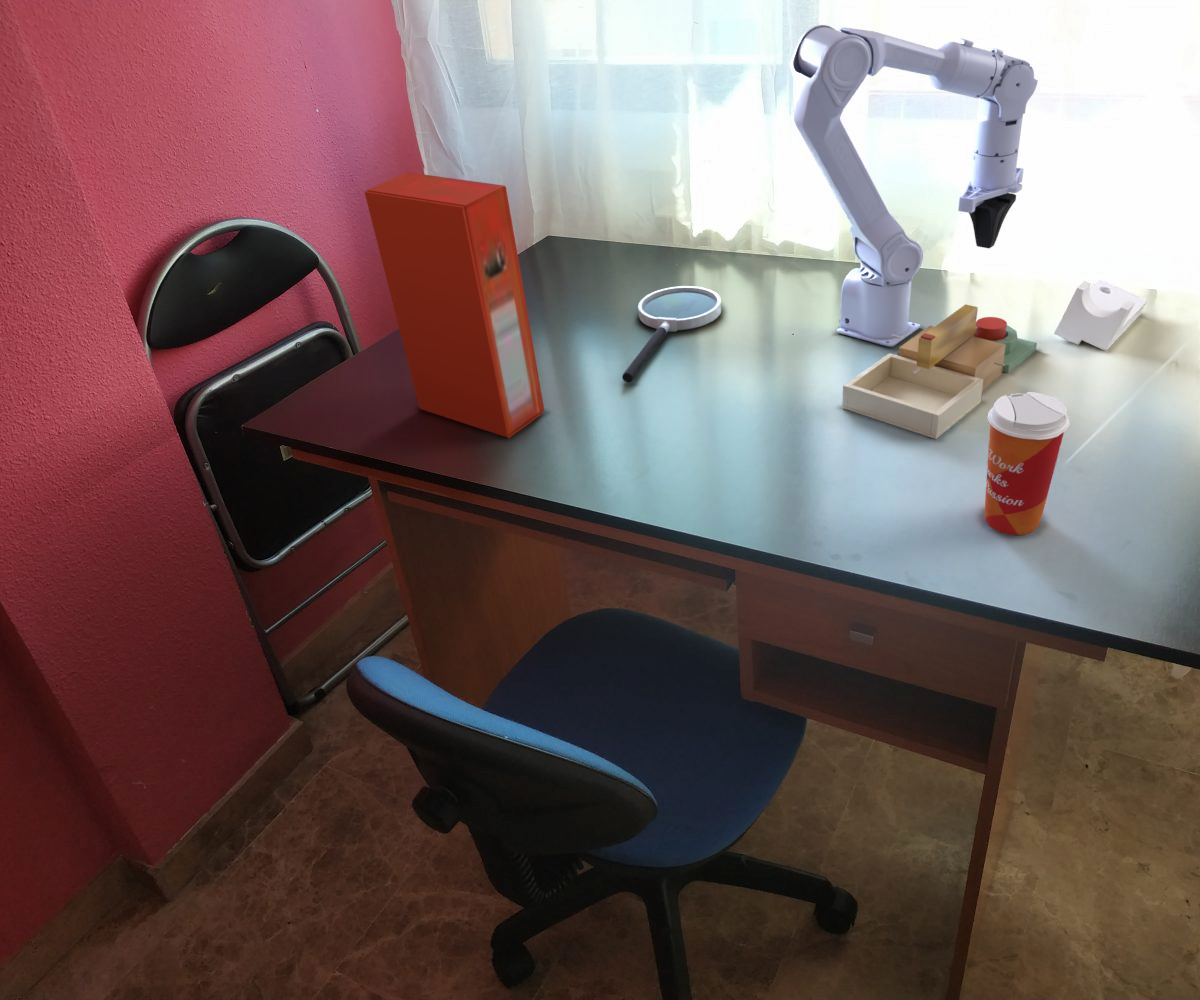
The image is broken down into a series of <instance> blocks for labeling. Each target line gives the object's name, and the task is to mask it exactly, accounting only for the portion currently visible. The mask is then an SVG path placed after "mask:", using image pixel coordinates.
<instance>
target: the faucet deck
mask: <svg viewBox="0 0 1200 1000" xmlns="http://www.w3.org/2000/svg"><path fill="white" fill-rule="evenodd" d="M934 327H935V326H933V325H929V326H927V327H926V328H925V329H923V330H921V331H920V332H918V333H917V334H916V335H915V336H913V337H911V338H910V339H908V340H907V341H906V342H905V343H904V344H902V345H900V346H899V347H898V356H902V357H905V358H909V359H912V360H916V361H917V355H918V343H919V338H920V337H921V335H923V334H924V333H927V332H928V331H929V330H931V329H932V328H934ZM977 328H978V327H977V326H976V327H975V330H976V329H977ZM891 336H892V337H896V338H902V337H901V336H897V335H894V334H892V335H891ZM1005 346H1006V345H1005V344H1001V343H997V342H993V341H989V340H985V339H981V338H977V337H973V336H972V337H970V338H969V339H968V340H966V341H965V342H964V343H963V344H961V345H960V346H959V347H957V348H956V349H955V350H953V351H952V352H951V353H950V354H948V355H947V356H946V357H944V358H943V359H942V360H940V361H939V362H938V363H936V364H935V365H934V366H937V367H941V368H944V369H948V370H951V371H955V372H959V373H962V374H966V375H969V376H973V377H976V378H980V379H983V386H982V391H983V390H984V389H986V388H987V387H989V386H990V385H991V384H993V382H995V381H996V380H997V379H998V378H999V377H1001V376H1002V374H1003V371H1002V368H1003V366H1005V364H1003V361H1004V354H1005ZM920 370H921V369H917V370H916V371H915V372H913V373H912V374H914V375H915V374H917V373H918V372H919V371H920Z"/></svg>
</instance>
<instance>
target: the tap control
mask: <svg viewBox="0 0 1200 1000" xmlns="http://www.w3.org/2000/svg"><path fill="white" fill-rule="evenodd" d="M1017 332H1018V331H1017V330H1016V329H1014V328H1013V327H1011V326H1010V325H1007V328H1006V336H1005V338H1004V339H1001V340H997V341H993V342H997V343H1001V344H1005V345H1006V346H1005V354H1004V361H1003V364H1005V366H1003V368H1002V373H1007V374H1009V373H1010V372H1011V371H1012V370H1014V369H1015V368H1017V366H1019V365H1020V364H1021V363H1022V362H1024V361H1025V360H1026V359H1027V358H1029V357H1030V356H1031V355H1033V353H1035V352H1036V351H1037V345H1038V343H1037V342H1034V341H1031V340H1027V339H1023V338H1020V337H1019V338H1018V333H1017ZM973 337H975V334H974V335H973Z"/></svg>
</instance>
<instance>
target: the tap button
mask: <svg viewBox="0 0 1200 1000" xmlns="http://www.w3.org/2000/svg"><path fill="white" fill-rule="evenodd" d="M976 326H977V327H978V328H977V329H976V330H975V337H977V338H981V339H985V340H989V341H997V340H1001V339H1004V338H1005V336H1006V328H1007V326H1008V323H1007V321H1006V320H1005V319H1004V318H1002V317H995V316H985V317H981V318H979V319H976Z"/></svg>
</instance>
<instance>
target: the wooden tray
mask: <svg viewBox="0 0 1200 1000" xmlns="http://www.w3.org/2000/svg"><path fill="white" fill-rule="evenodd" d="M917 369H921V370H920V371H919V372H918V373H917V374H915V375H914V374H912V373H913V372H915V371H916V370H917ZM982 386H983V379H980V378H976V377H973V376H969V375H966V374H962V373H959V372H955V371H951V370H948V369H944V368H941V367H937V366H933V367H931V368H930V369H926V368H922V367H919V366H917V361H916V360H912V359H909V358H905V357H902V356H899V354H898V355H897V354H894V353H891V352H889V353H887V354H886V355H884V356H883V357H881V358H880V359H879V360H877V361H875V362H874V363H873V364H871V365H870V366H869V367H867V368H866V369H864V370H863V371H862V372H860V373H858V374H857V375H856V376H854V377H853V378H852V379H850V380H848V381H847V382H846V383H844V384H843V385H842V402H841V403H842V405H841V408H842V409H844V410H846V411H850V412H853V413H855V414H859V415H862V416H865V417H867V418H872V419H874V420H877V421H880V422H883V423H886V424H889V425H892V426H895V427H898V428H901V429H905V430H908V431H911V432H913V433H915V434H920V435H922V436H926V437H929V438H931V439H935V440H937V439H938V438H940V437H941V436H942V435H943V434H944V433H946V432H947V431H949V429H950V428H952V427H953V426H954V425H955V424H956V423H957V422H959V421H960V420H961V419H963V418H964V417H965V416H966V415H967V414H968V413H970V412H971V411H972V410H973V409H974V408H975V407H977V406H978V405H979V404H981V400H982V394H983V390H982Z"/></svg>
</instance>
